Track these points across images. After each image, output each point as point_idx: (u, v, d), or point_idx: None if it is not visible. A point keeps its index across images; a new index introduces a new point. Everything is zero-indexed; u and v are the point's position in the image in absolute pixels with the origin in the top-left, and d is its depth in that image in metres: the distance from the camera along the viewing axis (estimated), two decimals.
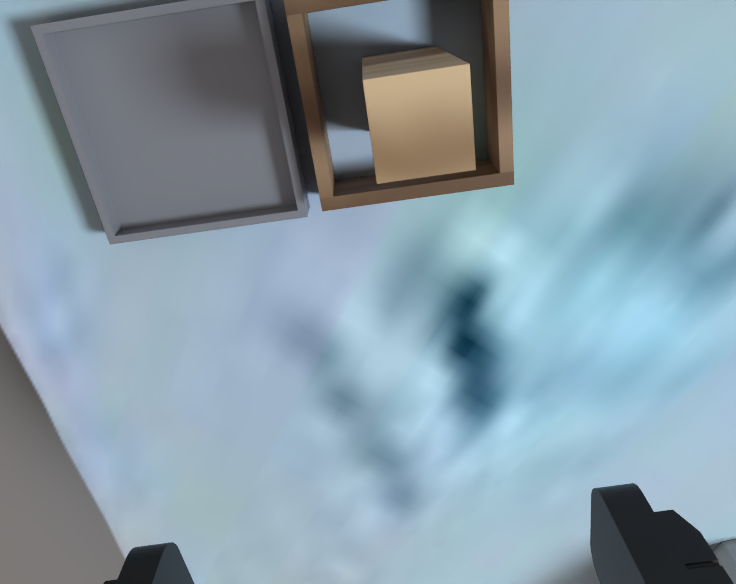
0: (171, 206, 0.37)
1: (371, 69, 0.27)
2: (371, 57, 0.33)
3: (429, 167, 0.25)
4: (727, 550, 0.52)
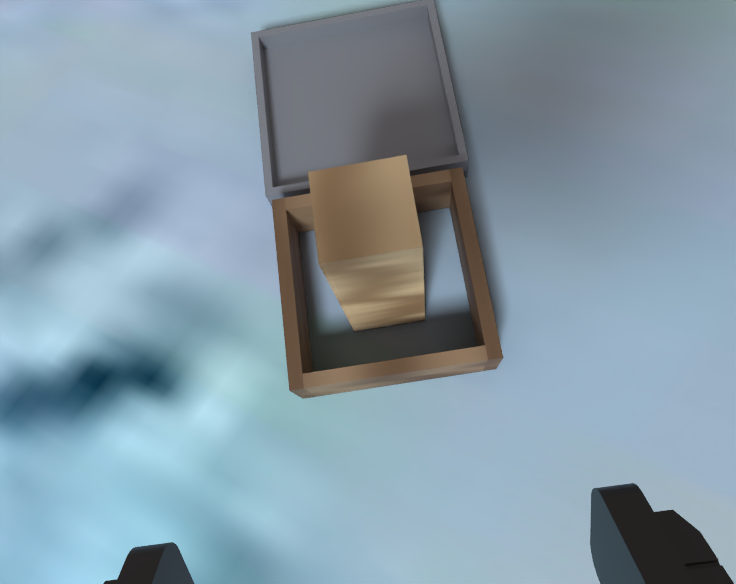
0: (282, 89, 0.40)
1: None
2: None
3: (322, 218, 0.25)
4: None
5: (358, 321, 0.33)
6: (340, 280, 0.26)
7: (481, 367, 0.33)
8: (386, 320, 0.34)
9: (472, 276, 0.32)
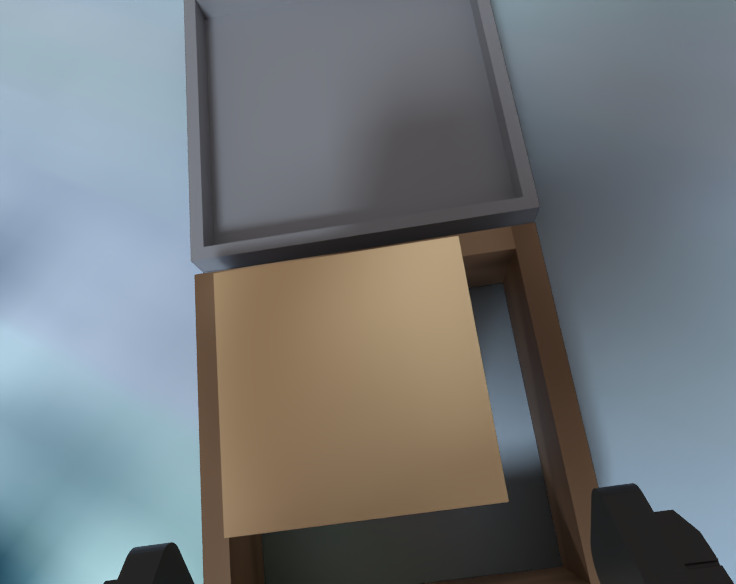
0: (231, 82, 0.25)
1: None
2: None
3: (242, 403, 0.09)
4: None
5: None
6: None
7: None
8: None
9: (560, 437, 0.17)
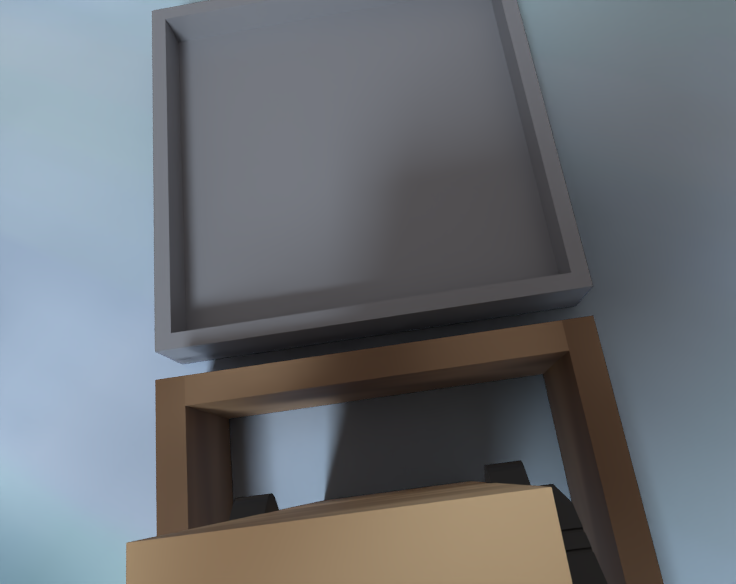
0: (209, 119, 0.21)
1: None
2: None
3: None
4: None
5: None
6: None
7: None
8: None
9: None
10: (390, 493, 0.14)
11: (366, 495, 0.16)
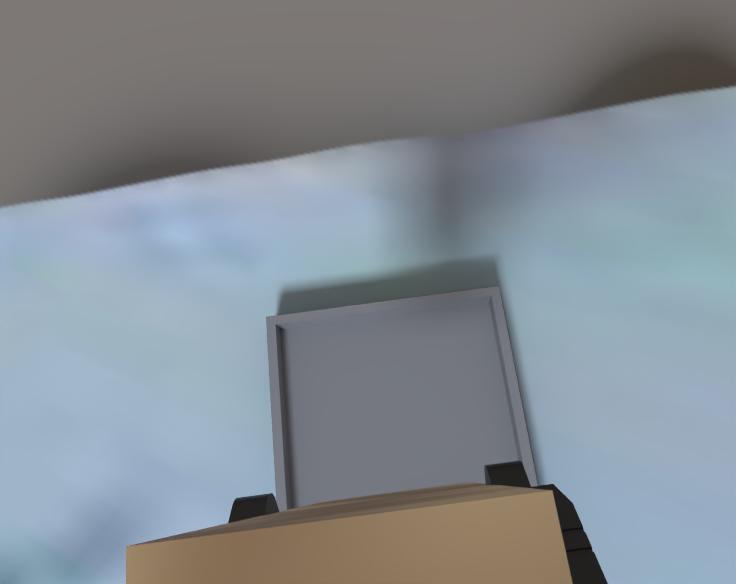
0: (304, 392, 0.32)
1: None
2: None
3: None
4: None
5: None
6: None
7: None
8: None
9: None
10: None
11: (366, 496, 0.16)
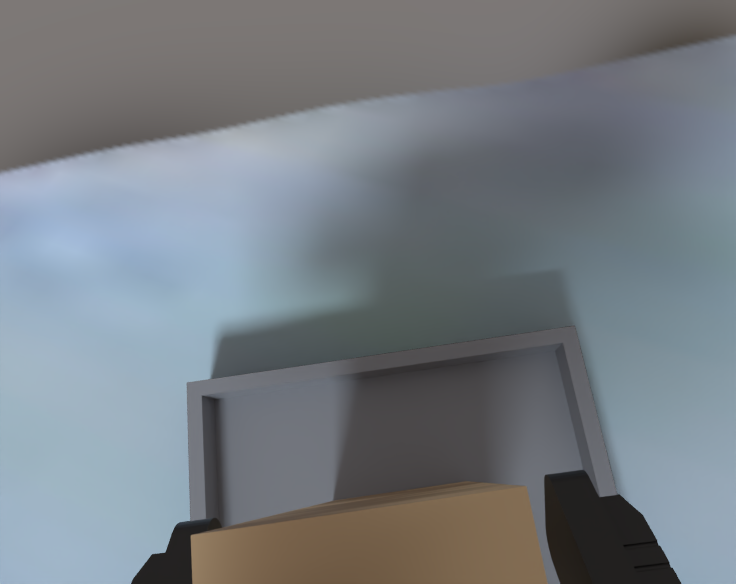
0: (251, 508, 0.19)
1: None
2: None
3: None
4: None
5: None
6: None
7: None
8: None
9: None
10: (395, 493, 0.16)
11: (372, 495, 0.17)
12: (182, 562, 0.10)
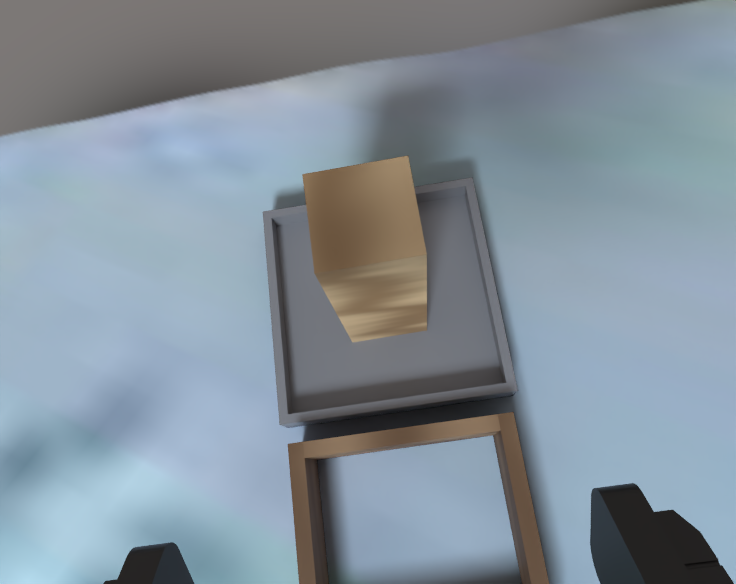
0: (298, 278, 0.35)
1: None
2: None
3: (318, 224, 0.23)
4: None
5: (356, 332, 0.32)
6: (338, 290, 0.25)
7: None
8: (386, 331, 0.32)
9: (528, 562, 0.27)
10: None
11: None
12: None
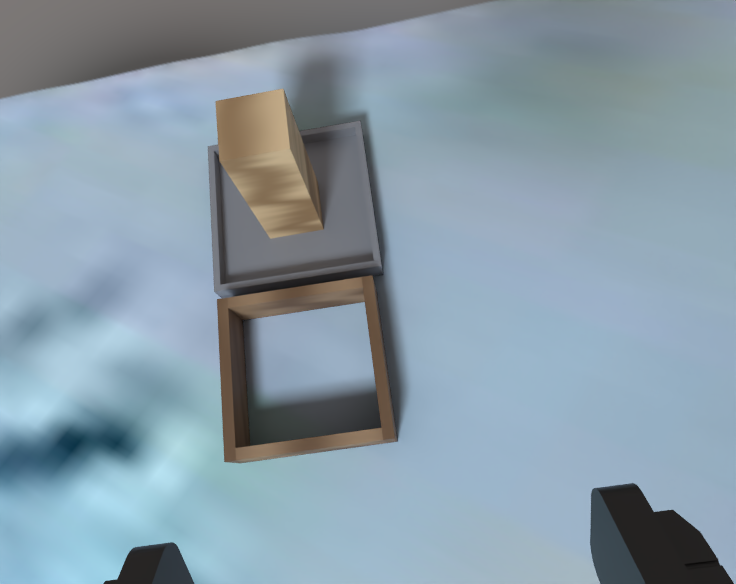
0: (233, 194, 0.48)
1: (296, 128, 0.40)
2: (315, 179, 0.46)
3: (223, 131, 0.36)
4: None
5: (269, 226, 0.44)
6: (240, 179, 0.37)
7: (382, 442, 0.40)
8: (291, 227, 0.45)
9: (374, 369, 0.40)
10: None
11: None
12: None
